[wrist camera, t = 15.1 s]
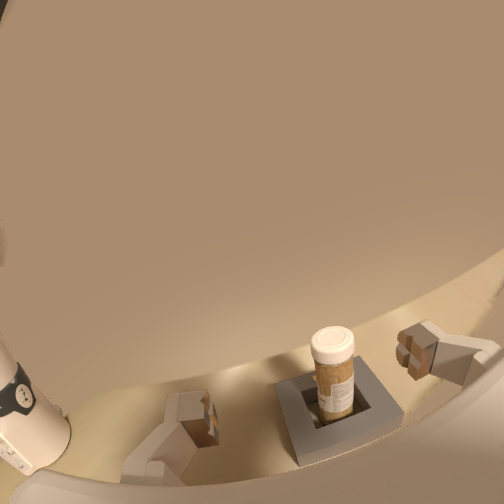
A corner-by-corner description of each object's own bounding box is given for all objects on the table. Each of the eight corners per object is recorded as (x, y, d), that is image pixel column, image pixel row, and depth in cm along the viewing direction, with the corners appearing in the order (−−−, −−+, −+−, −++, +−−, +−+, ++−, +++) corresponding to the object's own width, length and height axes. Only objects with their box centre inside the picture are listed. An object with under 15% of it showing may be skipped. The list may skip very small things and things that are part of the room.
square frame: (299, 467, 23) (296, 455, 22) (277, 397, 35) (273, 382, 34) (400, 426, 24) (404, 411, 23) (359, 369, 36) (359, 354, 35)
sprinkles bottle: (315, 409, 31) (304, 332, 28) (346, 398, 31) (343, 319, 28) (325, 433, 27) (317, 356, 23) (359, 420, 27) (361, 340, 23)
